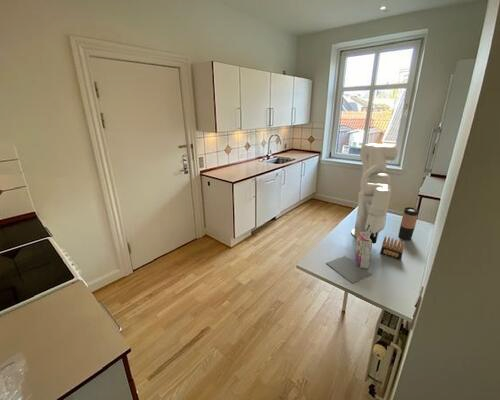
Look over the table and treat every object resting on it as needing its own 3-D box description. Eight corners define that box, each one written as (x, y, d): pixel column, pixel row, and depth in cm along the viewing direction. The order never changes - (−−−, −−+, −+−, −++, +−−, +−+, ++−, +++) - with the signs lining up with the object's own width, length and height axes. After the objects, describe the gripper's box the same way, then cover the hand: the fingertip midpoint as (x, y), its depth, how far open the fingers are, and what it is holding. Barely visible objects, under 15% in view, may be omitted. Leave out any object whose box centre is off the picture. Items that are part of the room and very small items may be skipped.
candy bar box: (354, 257, 138) (357, 231, 133) (364, 257, 137) (367, 231, 132) (359, 268, 127) (362, 240, 123) (369, 269, 126) (372, 240, 122)
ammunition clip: (401, 259, 136) (406, 240, 131) (400, 260, 134) (405, 242, 130) (380, 252, 142) (384, 234, 137) (379, 253, 141) (383, 236, 136)
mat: (344, 256, 139) (345, 255, 139) (372, 274, 124) (372, 273, 124) (326, 263, 133) (326, 262, 133) (352, 283, 118) (352, 282, 118)
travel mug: (398, 239, 155) (405, 211, 147) (397, 233, 161) (403, 206, 154) (412, 241, 152) (420, 213, 145) (410, 235, 159) (417, 208, 151)
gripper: (381, 206, 130) (375, 235, 136) (362, 211, 123) (356, 242, 130) (394, 211, 123) (387, 241, 130) (375, 217, 117) (368, 249, 124)
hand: (372, 242), depth 130 cm, fingers closed
